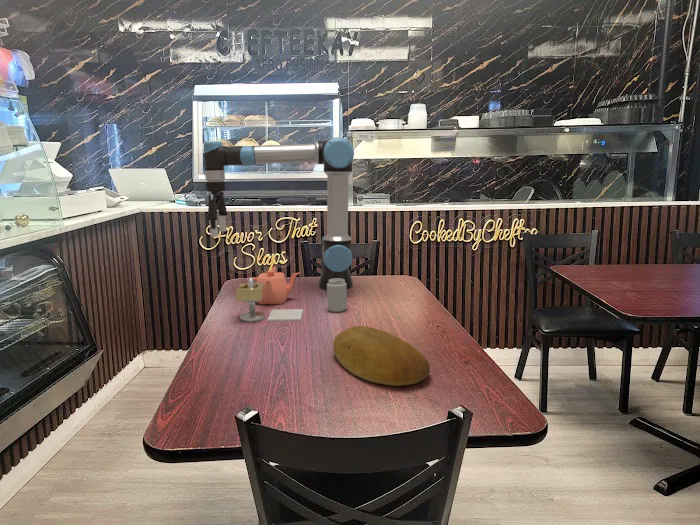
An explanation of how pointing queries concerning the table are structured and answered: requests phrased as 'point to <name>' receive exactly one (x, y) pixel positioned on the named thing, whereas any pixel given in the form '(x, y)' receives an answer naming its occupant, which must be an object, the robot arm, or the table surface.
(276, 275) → the pot
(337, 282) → the can
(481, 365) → the table surface
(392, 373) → the bread
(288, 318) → the mat
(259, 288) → the link
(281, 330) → the table surface
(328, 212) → the robot arm
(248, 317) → the stand
